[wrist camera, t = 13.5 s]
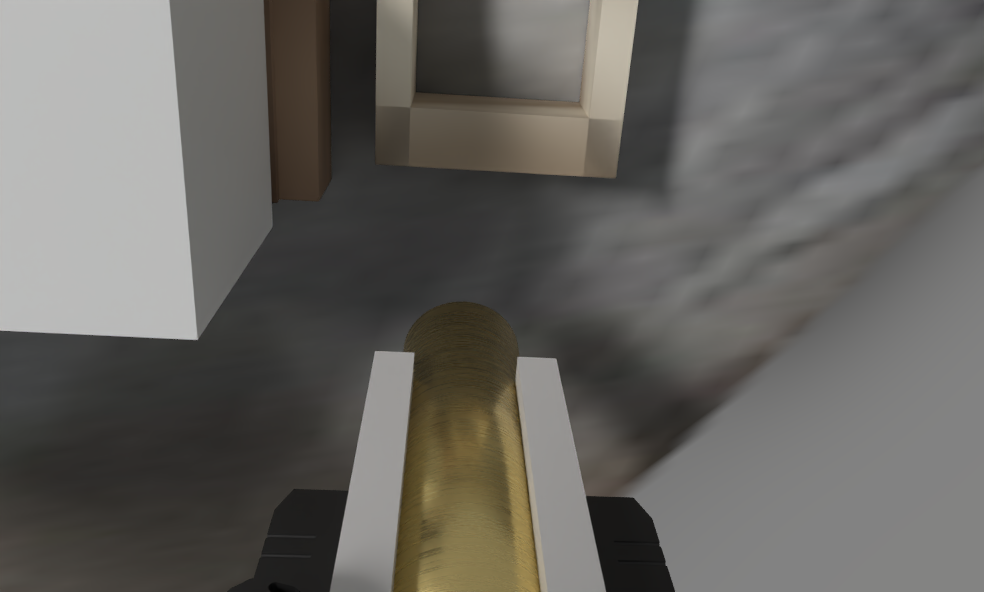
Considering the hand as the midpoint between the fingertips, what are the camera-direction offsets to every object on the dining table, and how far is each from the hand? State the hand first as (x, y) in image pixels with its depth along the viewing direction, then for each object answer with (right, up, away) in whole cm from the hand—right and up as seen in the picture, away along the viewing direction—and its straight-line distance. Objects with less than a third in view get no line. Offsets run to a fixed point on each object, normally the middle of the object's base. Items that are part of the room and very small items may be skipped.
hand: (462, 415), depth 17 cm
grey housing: (-7, +7, +2) cm, 11 cm away
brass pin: (0, +1, +2) cm, 3 cm away
